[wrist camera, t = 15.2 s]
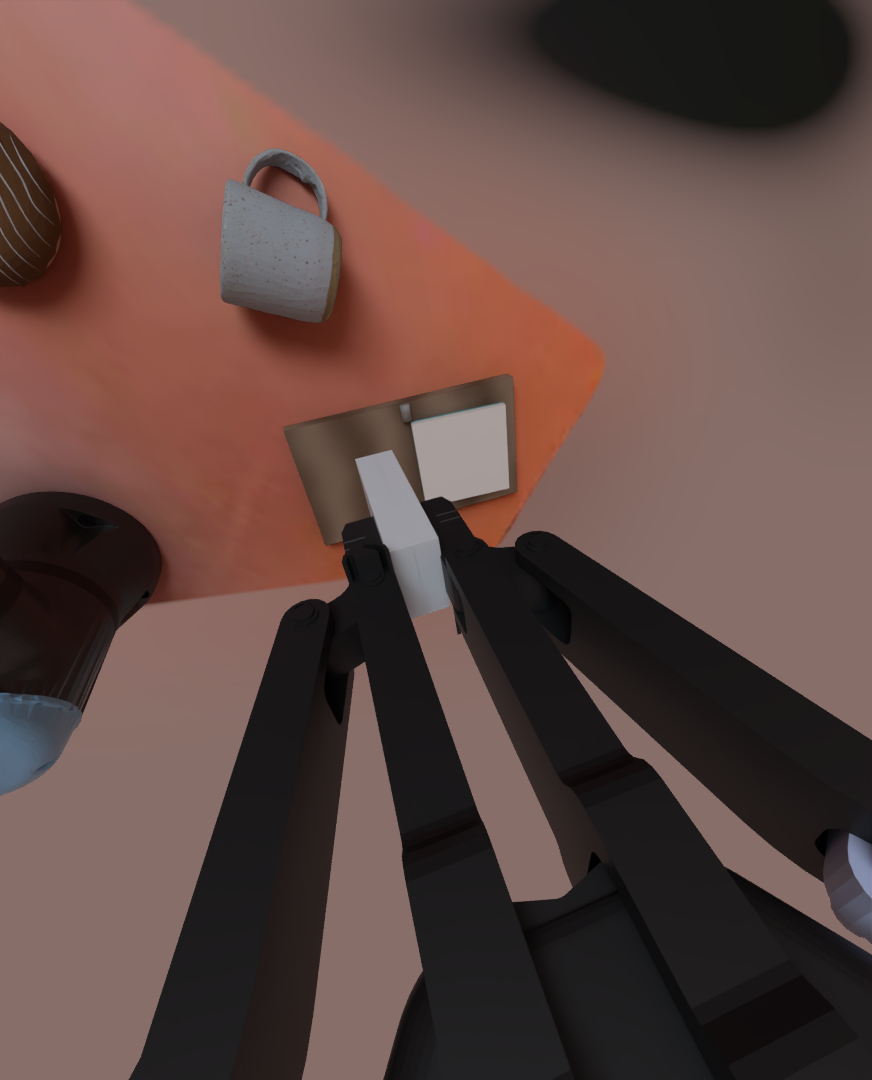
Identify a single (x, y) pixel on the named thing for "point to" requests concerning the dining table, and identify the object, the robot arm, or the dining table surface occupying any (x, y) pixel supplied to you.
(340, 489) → the hinge board
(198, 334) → the dining table surface
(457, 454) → the tile
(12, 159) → the donut
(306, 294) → the ceramic mug
